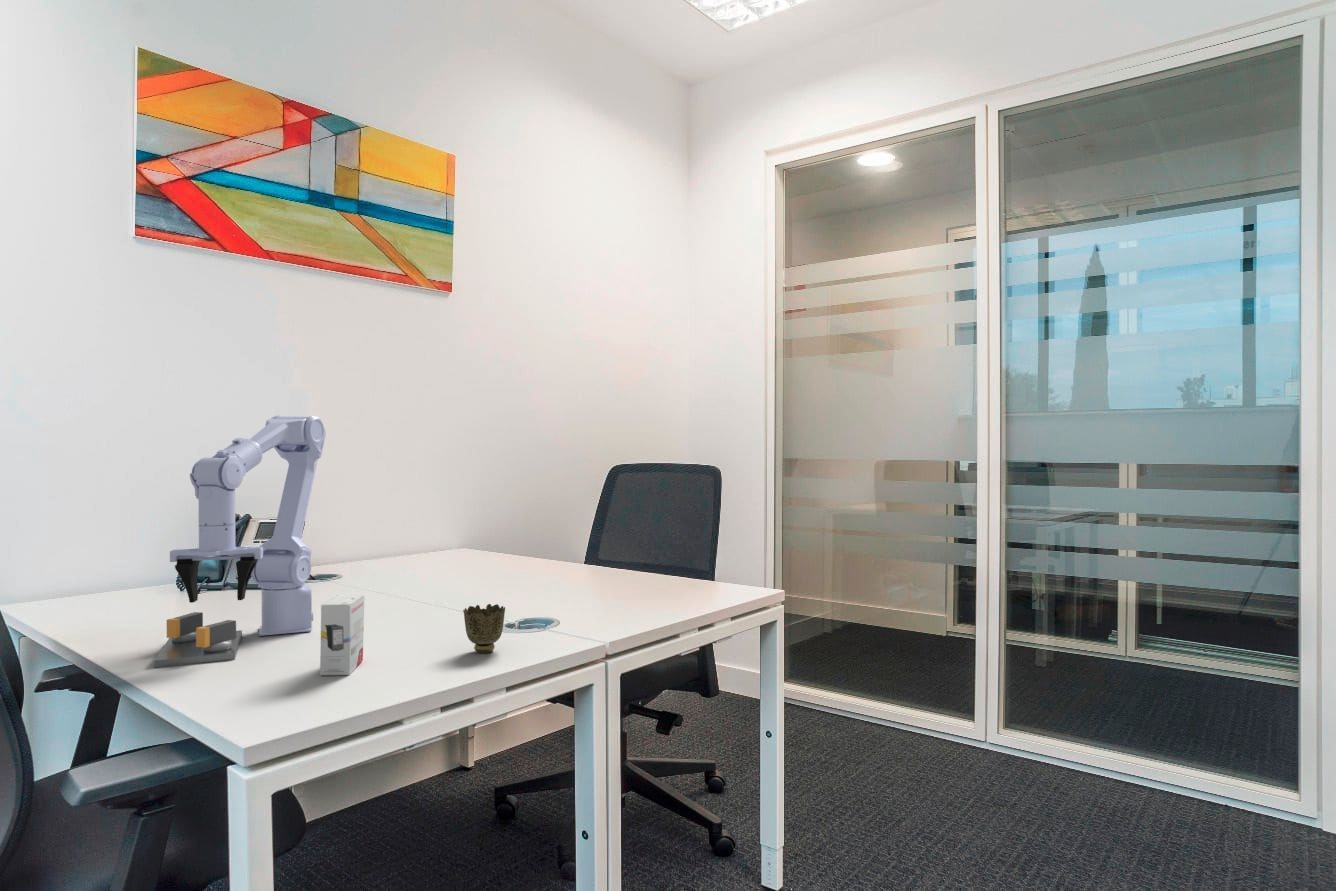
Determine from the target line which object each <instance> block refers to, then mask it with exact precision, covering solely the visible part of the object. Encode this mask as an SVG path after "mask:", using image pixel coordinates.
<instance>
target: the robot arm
mask: <svg viewBox="0 0 1336 891" xmlns="http://www.w3.org/2000/svg"><path fill="white" fill-rule="evenodd" d="M324 426H325V425H324V422H323V421H322V419H321V418H320V417H319V416H318V415H310V416H308V415H307V416H300V415H299V416H297V415H296V416H294V415H293V416H292V415H291V416H290V415H289V416H285V415H284V416H281V415H274V416H272V417H271V418H269V419H267V420H266V422H265V425H264V427H263V428H262V429H261V430H259V431H258V432H257V433H256V434H254V435H253V436H252V437H251V438H239V437H238V438H234V439H233V440H232V441H231V442H232V443H231V444H230V445H228V446H227V447H225V448H224V449H219V450H218V451H217V452H216V454H214V455H212V457H202V458H200V459H199V460H198V461H195V463H194V464H193V466H192V468H191V472H190V473H189V478H190V479H189V480H190V482H191V484H192V486H193V488H194V496H195V499H197V500H198V548H185V549H183V548H181V549H173V550H170V551H169V563H176V564H175V565H174V569H175V570H176V572H177V574H178V576H179V577H180V579H181V580H182V582H183V585H184V588H185V589H186V592H187V597H188V600H189V603H191V604H192V603H195V602H197V601H198V599H199V597H198V596H199V592H198V591H199V590H198V577H199V576H198V574H199V565H200V561H221V560H222V561H223V560H238V561H236V562H235V566H236V567H235V568H236V574H237V591H236V592H237V594H236V595H237V596H236V597H237V601H243V600H244V599H246V591H247V588H248V585H249V581H250V578H251V577H252V579H253V581H254V582H255V583H256V584H257V588H258V589H261V625H260V626H259V630H258V636H260V637H261V636H263V637H264V636H273V635H282V634H283V635H286V634H294V633H295V634H297V633H304V632H305V633H306V632H311V631H313V630H312V626H313V625H312V624H313V623H312V622H314V611H312V600H313V599H312V585H311V584H310V585H309V584H306V585H305V583H306V582H307V581H308V580H309V578H310V575H311V571H312V564H311V562H312V561H311V557H312V550H311V549H310V548H309V546H308V545H306V544H305V543H304V542H303V541H302V537H303V536H302V535H303V531H304V526H305V522H306V517H307V513H308V507H309V503H310V498H311V494H312V489H313V484H314V479H315V475H316V470H317V465H318V460H319V459H321V457H322V453H323V448H324V445H325V439H326V435H327V432H326V428H325V427H324ZM273 448H274V449H275V451H276V452H277V454H278V455H279V457H280V458H282V459H283V460H286V462H288V468H287V471H286V472H287V473H286V476H285V481H284V485H283V489H282V493H281V500H280V503H279V507H278V512H277V517H276V522H275V526H274V530H273V535H272V537H271V538H269V539H268V540H266V541H265V542H263V543H262V544H261V545H259V546H236V489H238V488H240V486H241V485H242V482H243V479H244V477H245V476H246V474H247V473H248V472H250V471H251V470H253V469H254V468H255V467H256V466H259V464H260V463H261V462H262V459H263V454H265V453H266V452H268V451H271V450H272V449H273Z"/></svg>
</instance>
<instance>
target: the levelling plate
mask: <svg viewBox="0 0 1336 891" xmlns="http://www.w3.org/2000/svg"><path fill="white" fill-rule="evenodd" d="M242 632H243V630H242V629H241V630H240V629H239V630H236V638H235V639H232V640H231V646H232V647H231V648H230V649H228V650H224V651H218V652H205V651H203V647H196V640H194V641H190V642H172V638H167V641H166V642H165V644H164V646H162V648H161V650H160V651H159V653H158V655H157V656H156V657H155V659H154V661H153V662H154V664H153V666H154V668H164V667H165V668H166V667H173V666H183V665H185V666H186V665H193V664H205V663H213V662H221V661H222V662H224V661H232V660H236V656H237V653H238V650H239V648H240V643H241V641H242V638H243V637H242V636H243V633H242Z"/></svg>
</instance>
